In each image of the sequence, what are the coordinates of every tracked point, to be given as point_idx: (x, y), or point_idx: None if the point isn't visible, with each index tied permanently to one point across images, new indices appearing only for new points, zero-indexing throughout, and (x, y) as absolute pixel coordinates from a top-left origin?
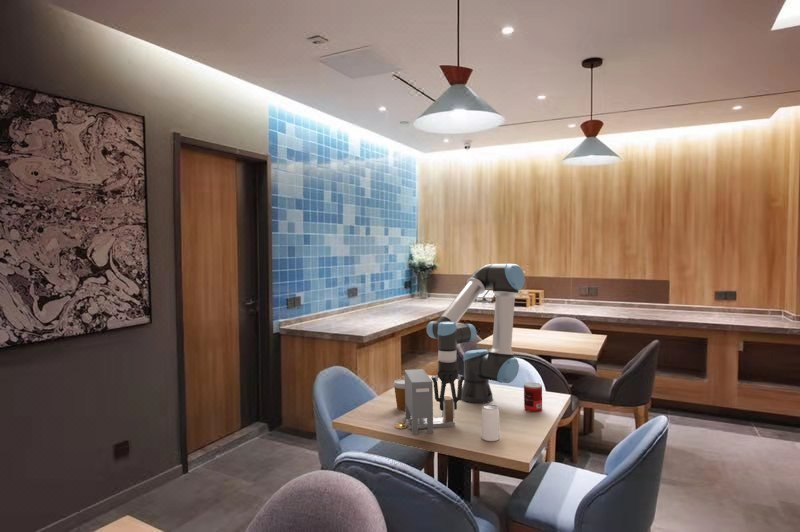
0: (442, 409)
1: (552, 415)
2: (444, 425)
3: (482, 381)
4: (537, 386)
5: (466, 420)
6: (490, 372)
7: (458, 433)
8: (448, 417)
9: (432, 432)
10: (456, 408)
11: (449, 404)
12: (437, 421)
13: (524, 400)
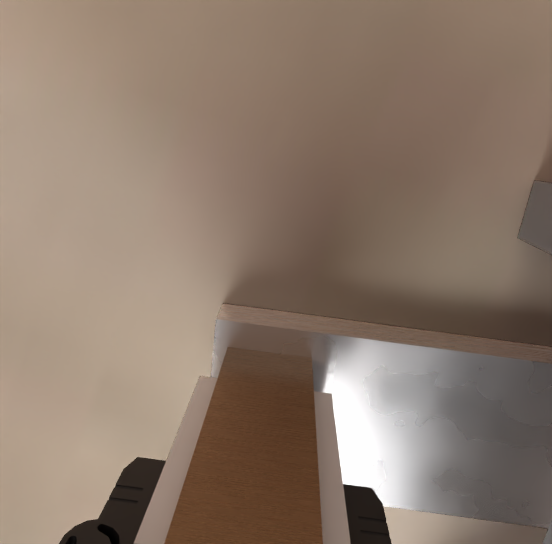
0: (349, 496)
1: None
2: (337, 324)
3: None
4: None
5: (61, 414)
6: None
7: (261, 83)
8: (279, 381)
9: (546, 182)
10: (129, 468)
11: (245, 514)
12: (392, 404)
13: None
